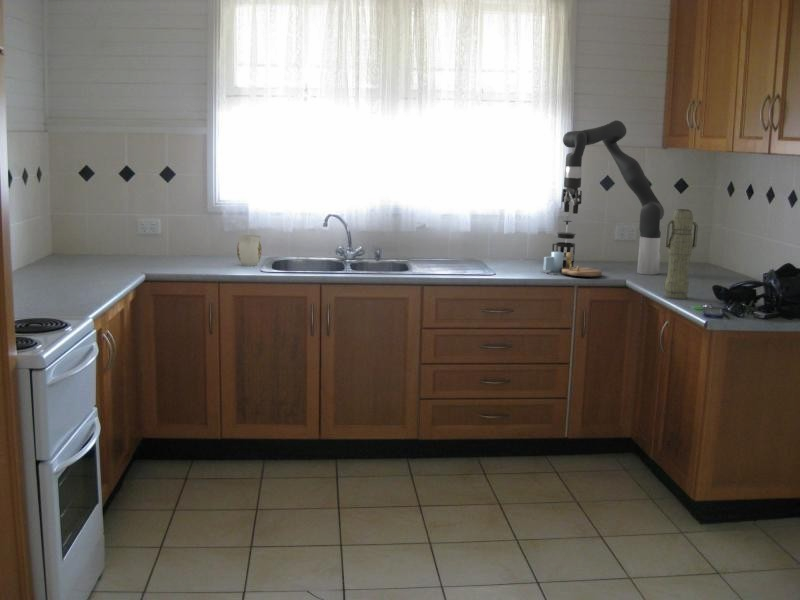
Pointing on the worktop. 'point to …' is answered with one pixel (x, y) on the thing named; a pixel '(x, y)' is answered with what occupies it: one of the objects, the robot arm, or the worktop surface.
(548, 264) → the pale blue carafe
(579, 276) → the turntable base
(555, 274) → the slate mat
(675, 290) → the thermos
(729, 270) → the worktop surface
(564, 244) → the french press
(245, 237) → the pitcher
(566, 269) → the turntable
